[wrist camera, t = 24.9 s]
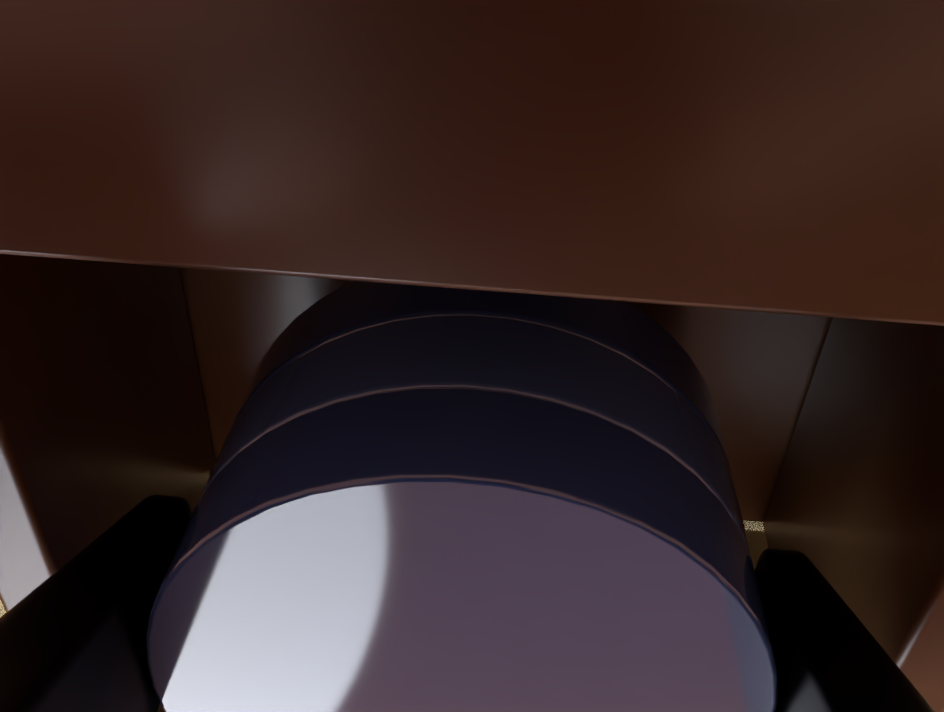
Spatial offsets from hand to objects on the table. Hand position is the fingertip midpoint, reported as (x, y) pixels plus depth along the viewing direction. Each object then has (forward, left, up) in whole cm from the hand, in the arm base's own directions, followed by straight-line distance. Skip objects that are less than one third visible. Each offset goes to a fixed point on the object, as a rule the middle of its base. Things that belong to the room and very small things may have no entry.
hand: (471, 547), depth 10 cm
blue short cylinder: (0, 0, -2) cm, 2 cm away
